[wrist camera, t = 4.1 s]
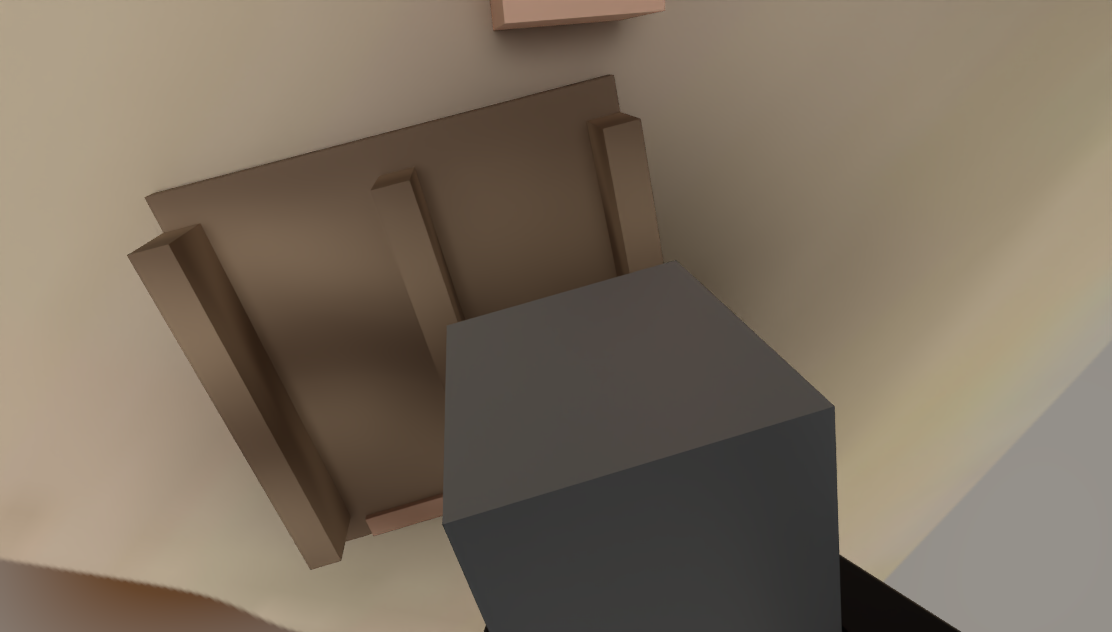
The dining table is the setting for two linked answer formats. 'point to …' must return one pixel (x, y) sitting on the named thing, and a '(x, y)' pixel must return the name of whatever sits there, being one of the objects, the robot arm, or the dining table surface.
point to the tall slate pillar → (638, 466)
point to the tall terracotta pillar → (566, 11)
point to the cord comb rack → (386, 288)
